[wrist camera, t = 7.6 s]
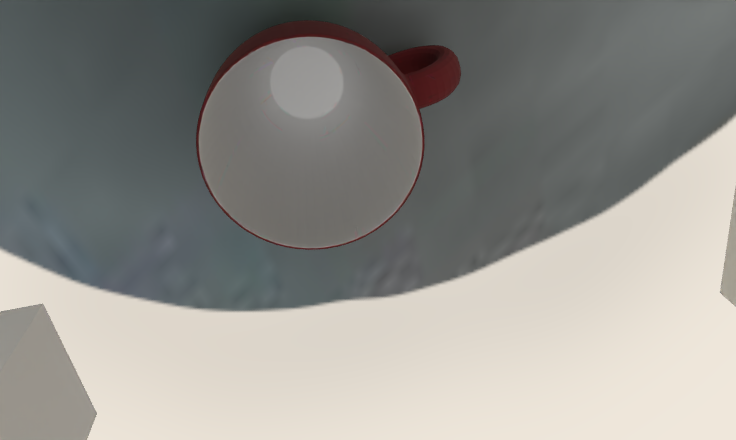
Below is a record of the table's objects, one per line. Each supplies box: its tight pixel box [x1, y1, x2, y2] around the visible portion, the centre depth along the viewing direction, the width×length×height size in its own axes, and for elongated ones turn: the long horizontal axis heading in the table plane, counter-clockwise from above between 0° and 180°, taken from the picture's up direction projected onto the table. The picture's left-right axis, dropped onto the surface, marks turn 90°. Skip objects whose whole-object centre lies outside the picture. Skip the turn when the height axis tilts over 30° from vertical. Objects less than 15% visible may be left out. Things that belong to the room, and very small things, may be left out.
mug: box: [196, 20, 461, 250], centre depth 26 cm, size 11×8×10 cm
